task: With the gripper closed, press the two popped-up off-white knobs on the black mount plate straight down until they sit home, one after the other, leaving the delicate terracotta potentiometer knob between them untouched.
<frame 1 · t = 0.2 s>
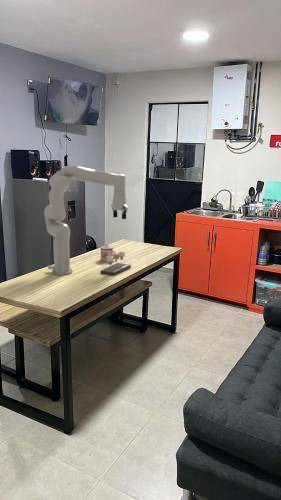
hand: (119, 218, 260), 31 cm above the table, tool pointing down, fingers open, 9 cm apart
knob far: (121, 255, 249), point 8 cm above the table, slide at 3.0 cm
mount plate: (116, 270, 245), on the table
teacup with lid: (108, 260, 271), on the table
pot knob: (116, 257, 243), point 8 cm above the table, slide at 3.0 cm
knob near: (110, 260, 237), point 8 cm above the table, slide at 3.0 cm
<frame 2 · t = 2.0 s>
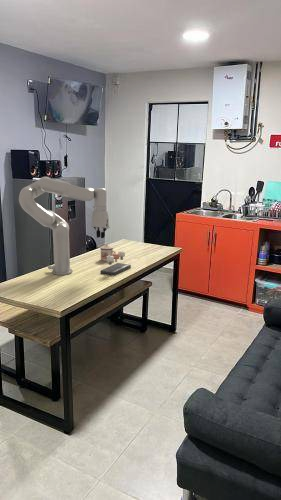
hand: (100, 237, 238), 22 cm above the table, tool pointing down, fingers closed
nothing on the table moved.
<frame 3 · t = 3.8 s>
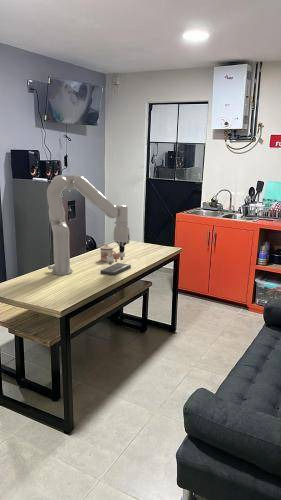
hand: (121, 251, 249), 11 cm above the table, tool pointing down, fingers closed
knob far: (121, 255, 249), point 8 cm above the table, slide at 2.8 cm, touching gripper
everything else where it was.
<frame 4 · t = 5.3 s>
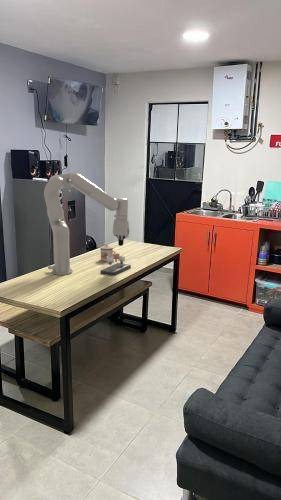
hand: (120, 245, 247), 15 cm above the table, tool pointing down, fingers closed
knob far: (121, 259, 250), point 6 cm above the table, slide at 0.0 cm
everything else where it was.
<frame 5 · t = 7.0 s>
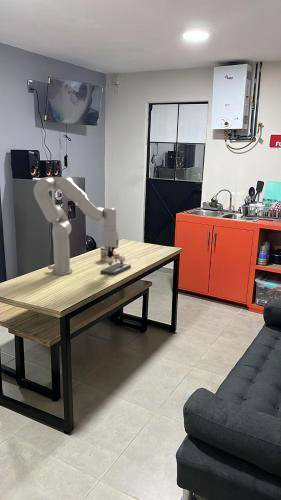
hand: (110, 256, 237), 11 cm above the table, tool pointing down, fingers closed
knob near: (110, 261, 237), point 8 cm above the table, slide at 2.5 cm, touching gripper
everything else where it was.
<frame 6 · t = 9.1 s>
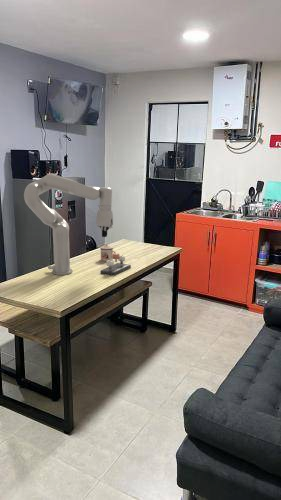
hand: (104, 236, 238), 23 cm above the table, tool pointing down, fingers closed
knob near: (110, 264, 238), point 6 cm above the table, slide at 0.0 cm
everything else where it was.
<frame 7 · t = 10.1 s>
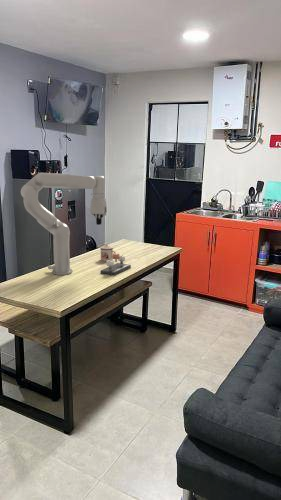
hand: (98, 224, 244), 29 cm above the table, tool pointing down, fingers closed
nothing on the table moved.
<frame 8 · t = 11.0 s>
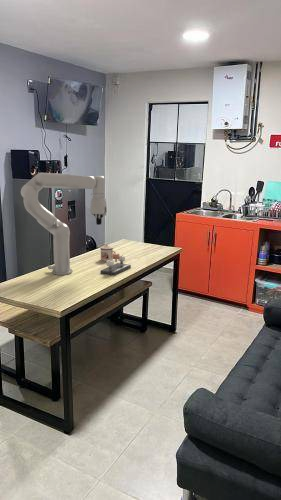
hand: (98, 224, 244), 29 cm above the table, tool pointing down, fingers closed
nothing on the table moved.
at the end: knob far slide at 0.0 cm; knob near slide at 0.0 cm; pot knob slide at 3.0 cm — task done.
